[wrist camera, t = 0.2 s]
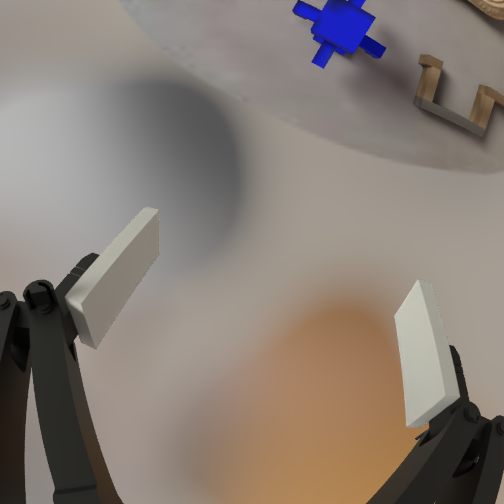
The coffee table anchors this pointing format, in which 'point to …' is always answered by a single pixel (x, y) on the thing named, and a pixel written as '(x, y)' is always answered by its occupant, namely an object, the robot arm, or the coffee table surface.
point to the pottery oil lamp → (491, 7)
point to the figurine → (339, 28)
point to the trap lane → (424, 101)
